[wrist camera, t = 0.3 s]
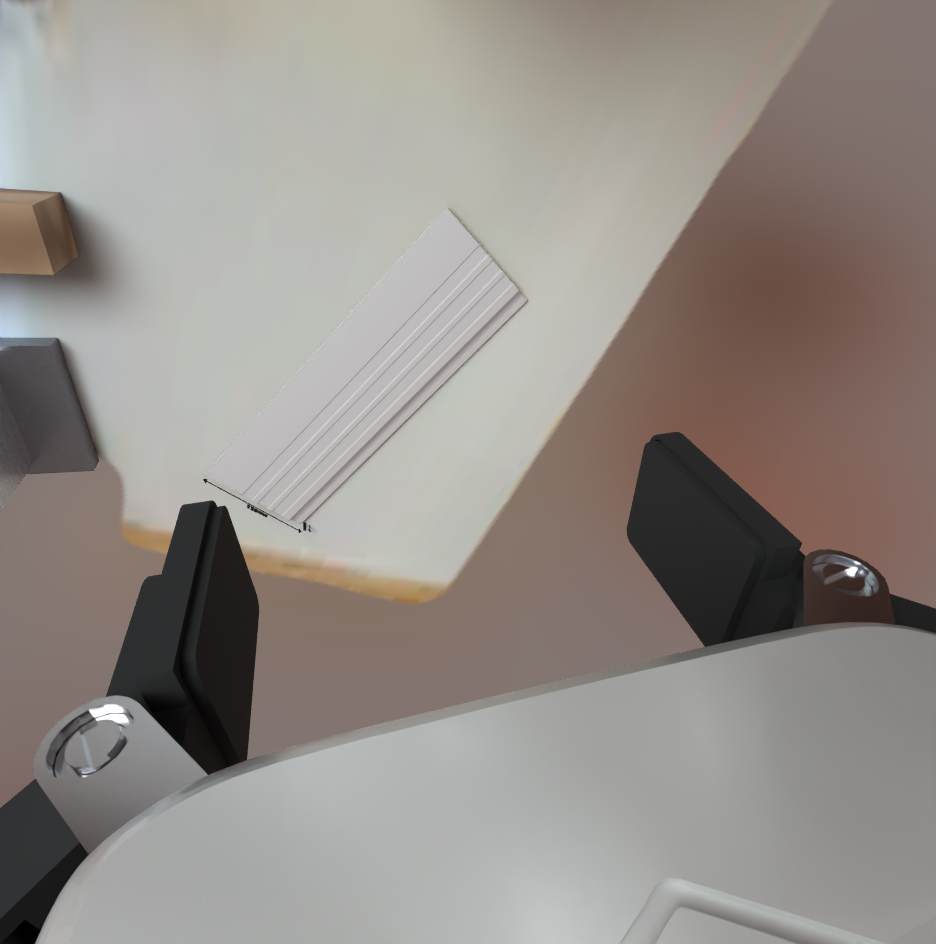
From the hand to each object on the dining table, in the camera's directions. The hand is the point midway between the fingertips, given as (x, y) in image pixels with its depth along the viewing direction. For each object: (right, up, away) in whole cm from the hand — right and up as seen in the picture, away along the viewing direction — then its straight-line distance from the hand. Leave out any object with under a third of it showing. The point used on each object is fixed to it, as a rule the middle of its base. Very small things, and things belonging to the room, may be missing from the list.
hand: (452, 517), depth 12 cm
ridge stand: (-36, +6, +30) cm, 47 cm away
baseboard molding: (-9, +9, +38) cm, 40 cm away
